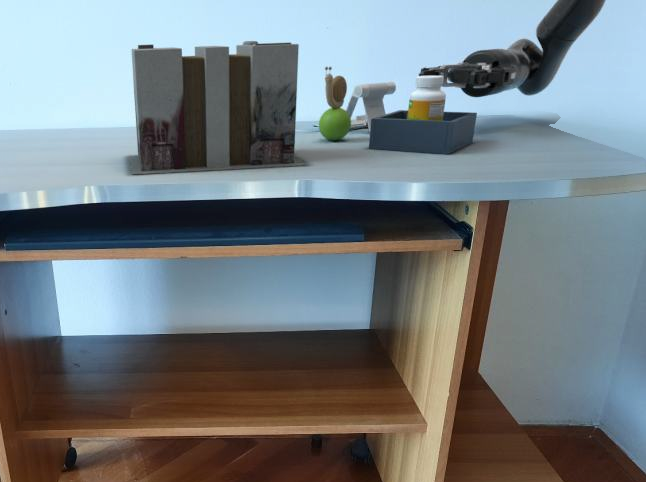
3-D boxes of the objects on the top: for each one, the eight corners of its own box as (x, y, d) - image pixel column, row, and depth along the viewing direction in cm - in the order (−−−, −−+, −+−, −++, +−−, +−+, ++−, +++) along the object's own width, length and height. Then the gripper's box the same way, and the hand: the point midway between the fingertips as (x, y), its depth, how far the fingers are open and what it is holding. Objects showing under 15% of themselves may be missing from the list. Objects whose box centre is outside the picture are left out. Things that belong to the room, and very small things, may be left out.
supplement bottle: (397, 140, 105) (404, 76, 101) (425, 138, 106) (433, 74, 102) (418, 145, 100) (426, 78, 96) (447, 142, 102) (456, 76, 97)
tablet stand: (365, 126, 126) (369, 80, 122) (396, 130, 120) (401, 82, 116) (332, 130, 122) (335, 83, 118) (363, 135, 116) (367, 85, 112)
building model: (129, 156, 103) (121, 45, 96) (281, 148, 105) (284, 39, 98) (132, 174, 89) (123, 46, 82) (307, 165, 91) (313, 39, 84)
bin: (472, 142, 104) (477, 112, 102) (449, 154, 95) (454, 121, 93) (396, 138, 111) (399, 110, 109) (368, 148, 102) (371, 118, 100)
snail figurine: (309, 142, 110) (312, 66, 105) (327, 137, 115) (331, 64, 109) (337, 144, 107) (342, 66, 102) (355, 139, 111) (361, 64, 106)
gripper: (453, 49, 116) (408, 53, 106) (536, 48, 106) (494, 52, 96) (447, 94, 119) (402, 101, 109) (527, 96, 110) (486, 105, 100)
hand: (446, 78), depth 103 cm, fingers open, 8 cm apart
